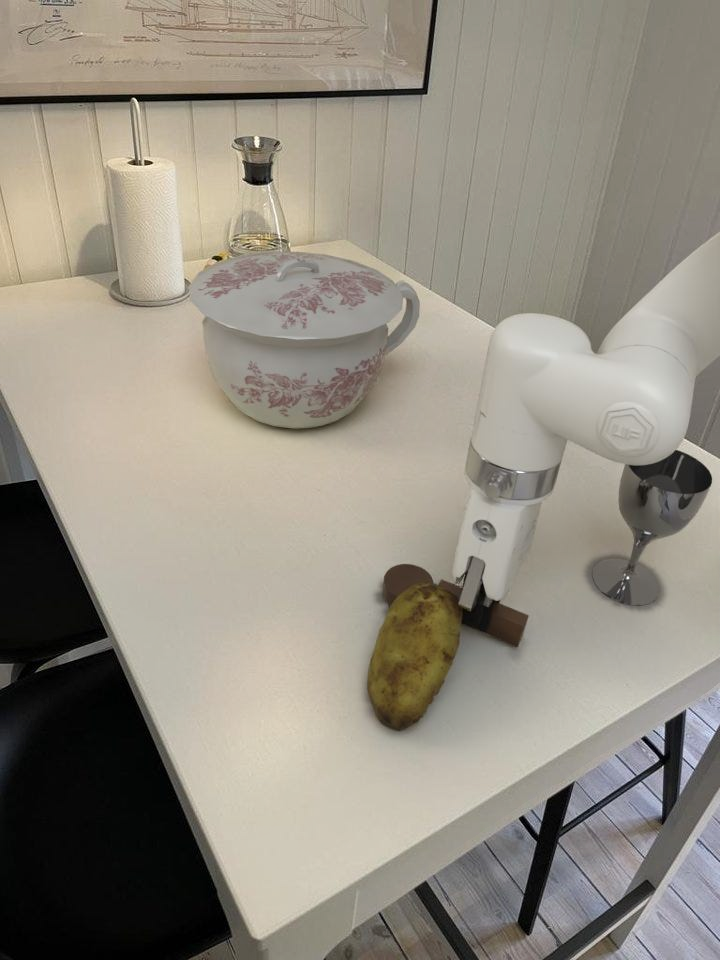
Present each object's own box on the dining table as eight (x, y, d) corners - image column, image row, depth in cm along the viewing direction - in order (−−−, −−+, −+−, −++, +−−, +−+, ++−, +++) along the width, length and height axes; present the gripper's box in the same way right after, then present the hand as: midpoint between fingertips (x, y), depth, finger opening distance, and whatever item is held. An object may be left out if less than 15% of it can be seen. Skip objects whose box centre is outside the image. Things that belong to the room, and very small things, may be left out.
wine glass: (663, 617, 77) (714, 502, 68) (585, 595, 79) (625, 481, 70) (663, 568, 83) (711, 457, 74) (591, 548, 85) (628, 438, 76)
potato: (327, 699, 66) (331, 637, 61) (409, 617, 75) (419, 557, 70) (404, 753, 62) (415, 692, 58) (481, 660, 71) (497, 600, 66)
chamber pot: (158, 428, 98) (142, 276, 86) (245, 342, 120) (242, 211, 107) (362, 478, 93) (377, 323, 80) (415, 379, 114) (433, 244, 102)
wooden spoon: (527, 625, 74) (534, 604, 72) (511, 659, 70) (518, 638, 68) (395, 569, 79) (398, 548, 77) (373, 599, 75) (376, 577, 73)
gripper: (527, 532, 55) (484, 691, 66) (580, 434, 67) (536, 584, 78) (433, 497, 58) (407, 656, 69) (500, 409, 69) (468, 557, 80)
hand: (475, 617), depth 73 cm, fingers closed on wooden spoon
